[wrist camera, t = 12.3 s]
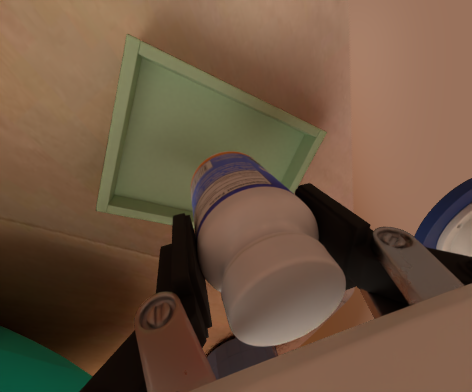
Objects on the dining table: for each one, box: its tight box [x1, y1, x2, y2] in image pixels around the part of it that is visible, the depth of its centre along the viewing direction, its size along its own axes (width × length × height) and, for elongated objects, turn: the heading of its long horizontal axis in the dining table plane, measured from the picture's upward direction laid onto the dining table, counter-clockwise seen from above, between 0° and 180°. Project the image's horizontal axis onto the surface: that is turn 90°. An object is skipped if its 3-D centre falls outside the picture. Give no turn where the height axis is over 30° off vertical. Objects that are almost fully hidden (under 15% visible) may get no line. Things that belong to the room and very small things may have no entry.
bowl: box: [207, 338, 278, 380], centre depth 36 cm, size 13×13×5 cm
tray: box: [96, 34, 327, 229], centre depth 19 cm, size 17×13×3 cm
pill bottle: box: [190, 151, 346, 346], centre depth 11 cm, size 5×5×10 cm
